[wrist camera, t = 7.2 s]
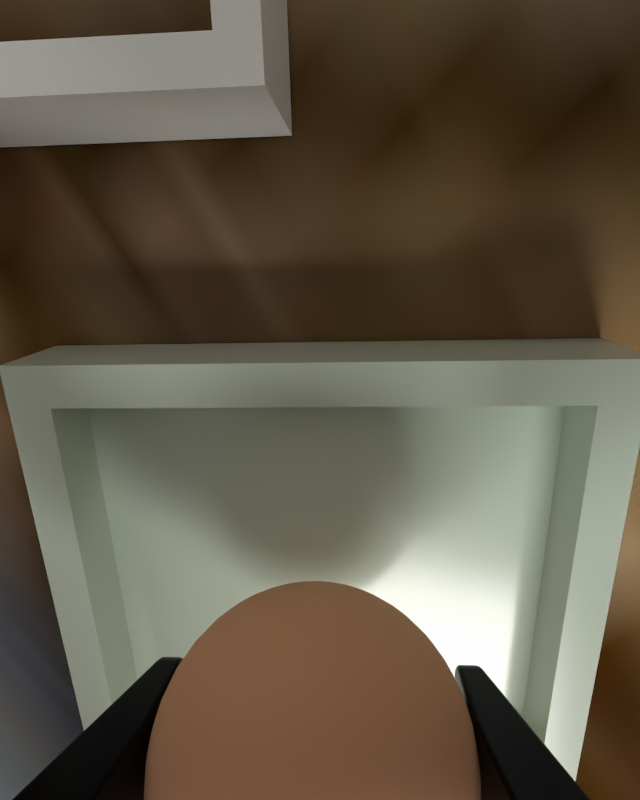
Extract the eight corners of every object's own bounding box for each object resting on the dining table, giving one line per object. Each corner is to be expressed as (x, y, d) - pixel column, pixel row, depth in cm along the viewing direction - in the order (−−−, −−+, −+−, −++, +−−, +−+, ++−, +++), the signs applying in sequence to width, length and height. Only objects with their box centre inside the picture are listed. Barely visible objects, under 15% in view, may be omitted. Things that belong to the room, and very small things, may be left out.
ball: (452, 525, 9) (565, 835, 4) (438, 725, 11) (511, 1116, 6) (189, 522, 9) (26, 810, 5) (212, 717, 11) (109, 1081, 6)
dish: (601, 338, 10) (655, 358, 8) (538, 750, 13) (566, 827, 11) (56, 345, 10) (-3, 366, 9) (132, 735, 14) (101, 805, 12)
